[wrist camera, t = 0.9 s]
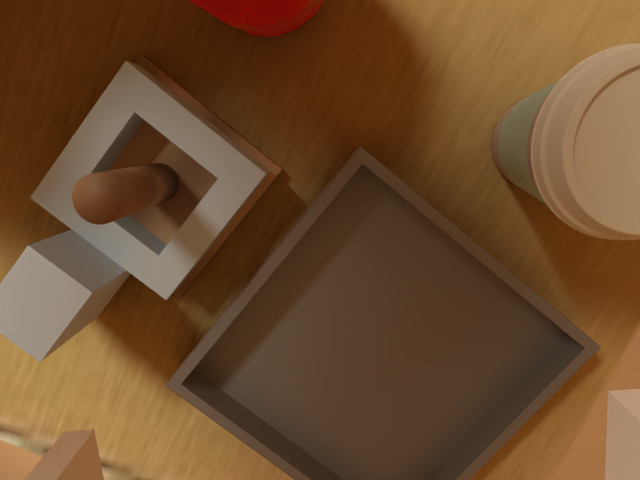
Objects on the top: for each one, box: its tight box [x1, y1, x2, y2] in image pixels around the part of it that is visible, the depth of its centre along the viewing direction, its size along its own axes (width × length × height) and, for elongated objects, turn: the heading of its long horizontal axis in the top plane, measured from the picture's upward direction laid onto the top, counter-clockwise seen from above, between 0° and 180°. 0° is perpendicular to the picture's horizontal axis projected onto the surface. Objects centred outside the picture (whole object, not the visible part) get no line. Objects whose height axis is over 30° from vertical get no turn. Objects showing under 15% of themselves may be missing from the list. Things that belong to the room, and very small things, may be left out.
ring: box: [0, 61, 270, 362], centre depth 30 cm, size 10×15×7 cm, turn 141°
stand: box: [72, 54, 282, 299], centre depth 29 cm, size 11×11×10 cm
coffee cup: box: [492, 43, 640, 240], centre depth 27 cm, size 8×8×12 cm
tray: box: [166, 146, 600, 480], centre depth 34 cm, size 19×19×3 cm
